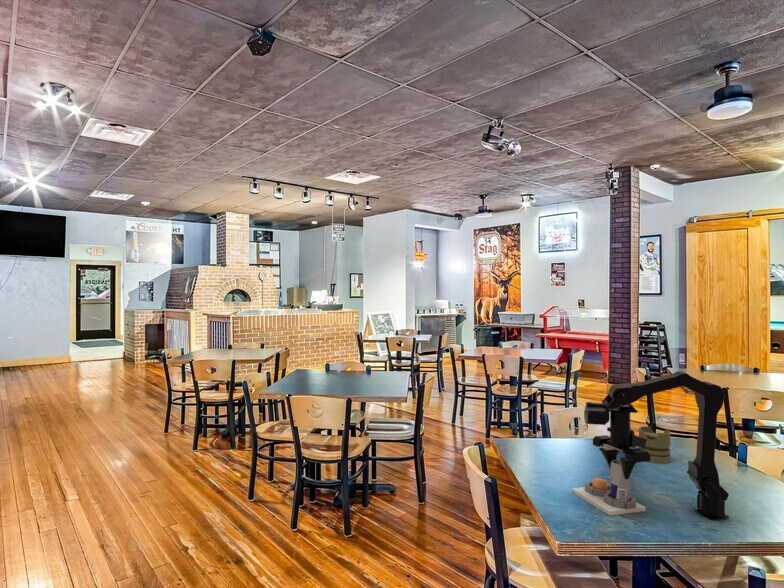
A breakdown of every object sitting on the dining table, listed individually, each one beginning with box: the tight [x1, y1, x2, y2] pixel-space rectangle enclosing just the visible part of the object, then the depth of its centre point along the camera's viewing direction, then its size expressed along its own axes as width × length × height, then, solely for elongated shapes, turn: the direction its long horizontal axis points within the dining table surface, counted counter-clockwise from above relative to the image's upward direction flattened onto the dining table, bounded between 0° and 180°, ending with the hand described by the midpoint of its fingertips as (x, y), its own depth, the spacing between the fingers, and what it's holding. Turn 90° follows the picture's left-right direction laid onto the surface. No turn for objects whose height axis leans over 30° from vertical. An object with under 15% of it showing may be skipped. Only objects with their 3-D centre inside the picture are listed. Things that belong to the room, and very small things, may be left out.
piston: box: [638, 425, 671, 465], centre depth 194 cm, size 11×12×11 cm
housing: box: [571, 477, 646, 516], centre depth 152 cm, size 18×13×5 cm
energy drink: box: [610, 459, 631, 502], centre depth 148 cm, size 5×5×12 cm
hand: (620, 475), depth 148 cm, fingers closed on energy drink, 5 cm apart
